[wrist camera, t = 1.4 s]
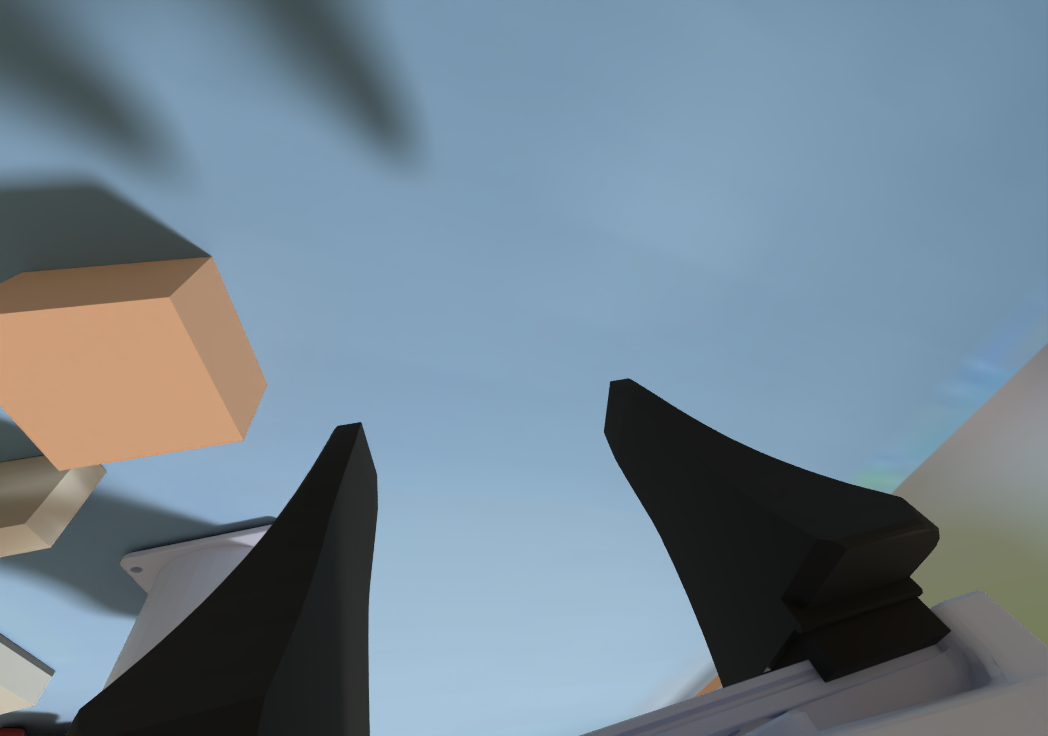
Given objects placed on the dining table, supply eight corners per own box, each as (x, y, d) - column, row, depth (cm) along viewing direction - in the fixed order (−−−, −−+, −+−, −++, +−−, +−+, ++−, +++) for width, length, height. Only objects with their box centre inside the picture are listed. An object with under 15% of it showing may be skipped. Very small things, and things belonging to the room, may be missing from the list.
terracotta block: (268, 381, 20) (243, 440, 16) (117, 403, 18) (59, 470, 15) (213, 254, 16) (169, 297, 13) (25, 270, 15) (-75, 321, 12)
